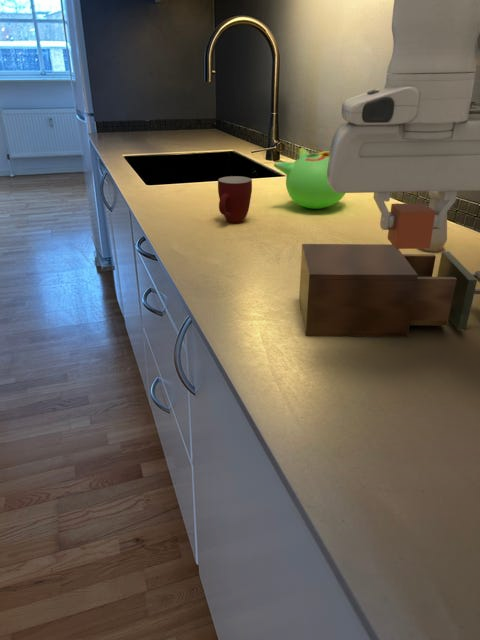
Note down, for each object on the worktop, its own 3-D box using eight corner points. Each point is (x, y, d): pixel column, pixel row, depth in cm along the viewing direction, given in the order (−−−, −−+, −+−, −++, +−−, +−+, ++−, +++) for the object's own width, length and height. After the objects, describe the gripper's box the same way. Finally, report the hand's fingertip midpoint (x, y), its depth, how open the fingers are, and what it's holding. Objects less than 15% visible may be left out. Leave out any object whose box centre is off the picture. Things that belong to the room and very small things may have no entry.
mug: (240, 230, 118) (240, 187, 114) (209, 226, 121) (207, 184, 116) (256, 218, 127) (256, 177, 122) (226, 215, 130) (225, 175, 125)
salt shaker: (445, 254, 104) (457, 190, 98) (415, 251, 105) (425, 188, 99) (444, 245, 108) (456, 183, 103) (416, 242, 110) (426, 181, 104)
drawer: (470, 297, 83) (481, 251, 80) (500, 330, 73) (514, 280, 69) (357, 296, 84) (362, 250, 80) (371, 329, 73) (377, 279, 70)
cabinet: (387, 299, 84) (395, 244, 80) (407, 337, 73) (418, 274, 69) (299, 299, 85) (302, 243, 80) (305, 335, 74) (309, 273, 69)
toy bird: (331, 219, 126) (336, 157, 119) (270, 210, 134) (271, 152, 127) (355, 203, 140) (360, 147, 133) (298, 195, 147) (301, 142, 141)
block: (419, 238, 64) (424, 203, 62) (430, 248, 60) (435, 211, 58) (387, 238, 64) (391, 203, 62) (395, 249, 60) (400, 212, 58)
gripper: (510, 99, 58) (486, 219, 64) (328, 103, 58) (322, 222, 64) (538, 102, 52) (509, 234, 58) (337, 107, 52) (329, 237, 58)
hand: (409, 228), depth 61 cm, fingers closed on block, 4 cm apart
